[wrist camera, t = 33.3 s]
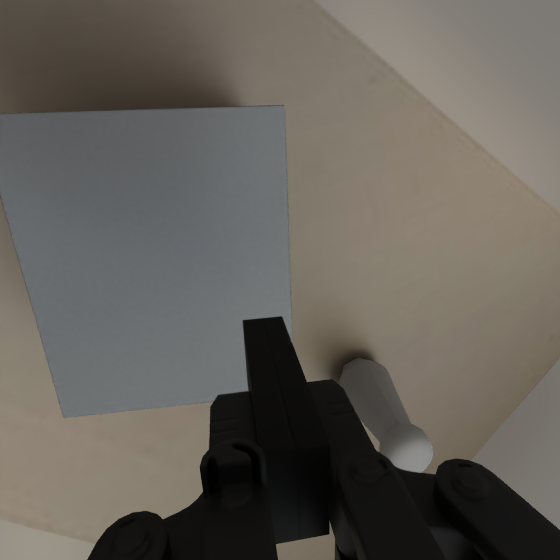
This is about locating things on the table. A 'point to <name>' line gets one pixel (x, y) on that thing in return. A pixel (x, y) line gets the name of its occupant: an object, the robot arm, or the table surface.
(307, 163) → the table surface
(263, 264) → the grey box lid
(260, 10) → the table surface
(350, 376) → the salt shaker
